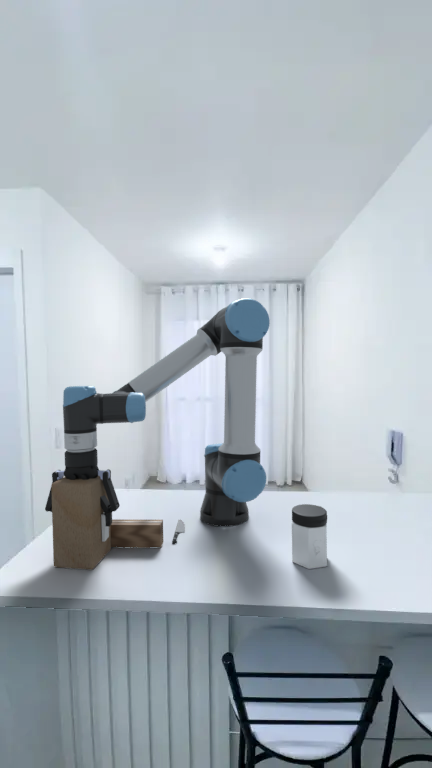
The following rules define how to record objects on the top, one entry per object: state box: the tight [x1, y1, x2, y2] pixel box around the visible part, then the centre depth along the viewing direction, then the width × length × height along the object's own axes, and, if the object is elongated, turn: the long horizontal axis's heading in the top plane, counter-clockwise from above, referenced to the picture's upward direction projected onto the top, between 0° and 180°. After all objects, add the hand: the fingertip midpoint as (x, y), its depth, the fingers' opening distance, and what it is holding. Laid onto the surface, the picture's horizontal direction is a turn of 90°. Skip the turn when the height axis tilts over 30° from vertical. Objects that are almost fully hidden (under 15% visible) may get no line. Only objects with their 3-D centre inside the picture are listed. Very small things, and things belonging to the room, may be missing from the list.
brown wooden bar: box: [110, 518, 164, 549], centre depth 96 cm, size 24×4×6 cm, turn 87°
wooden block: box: [50, 475, 112, 570], centre depth 88 cm, size 10×10×20 cm
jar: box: [291, 503, 328, 570], centre depth 86 cm, size 9×8×12 cm
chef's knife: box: [171, 518, 186, 545], centre depth 105 cm, size 19×1×3 cm
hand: (83, 538), depth 89 cm, fingers closed on wooden block, 10 cm apart
